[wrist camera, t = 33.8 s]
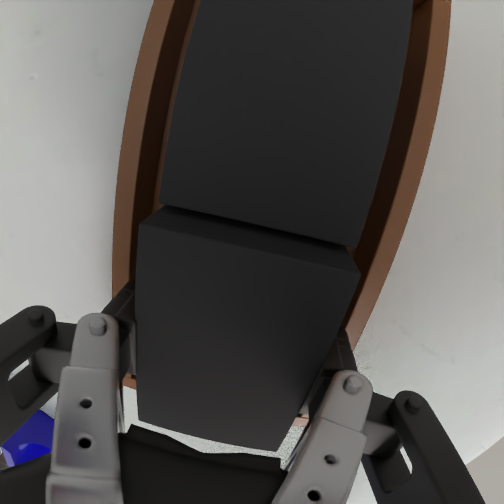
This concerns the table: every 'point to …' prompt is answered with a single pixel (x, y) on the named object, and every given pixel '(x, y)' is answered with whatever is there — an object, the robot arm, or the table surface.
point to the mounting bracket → (30, 440)
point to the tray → (390, 177)
